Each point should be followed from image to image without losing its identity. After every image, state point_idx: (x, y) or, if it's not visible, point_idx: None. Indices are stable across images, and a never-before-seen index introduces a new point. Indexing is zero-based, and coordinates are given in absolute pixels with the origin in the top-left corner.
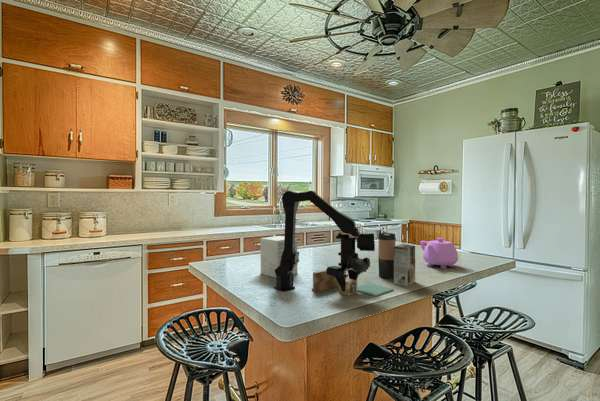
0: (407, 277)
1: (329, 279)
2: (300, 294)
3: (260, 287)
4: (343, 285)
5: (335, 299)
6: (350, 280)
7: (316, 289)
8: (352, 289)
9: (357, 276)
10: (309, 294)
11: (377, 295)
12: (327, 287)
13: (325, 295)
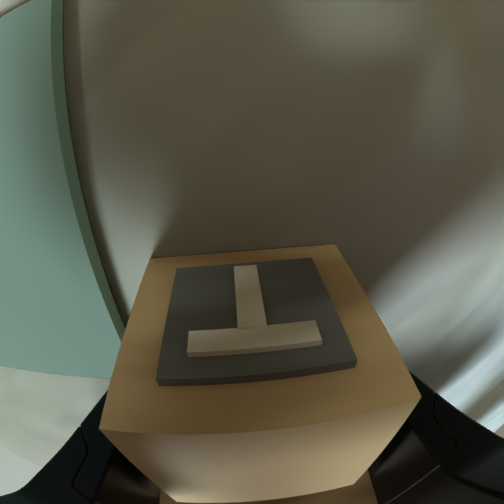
0: None
1: (291, 497)
2: (470, 395)
3: None
4: (418, 379)
5: (495, 239)
6: (249, 463)
7: None
8: (271, 290)
9: (46, 484)
10: (458, 387)
11: (20, 11)
12: None
13: (443, 348)
